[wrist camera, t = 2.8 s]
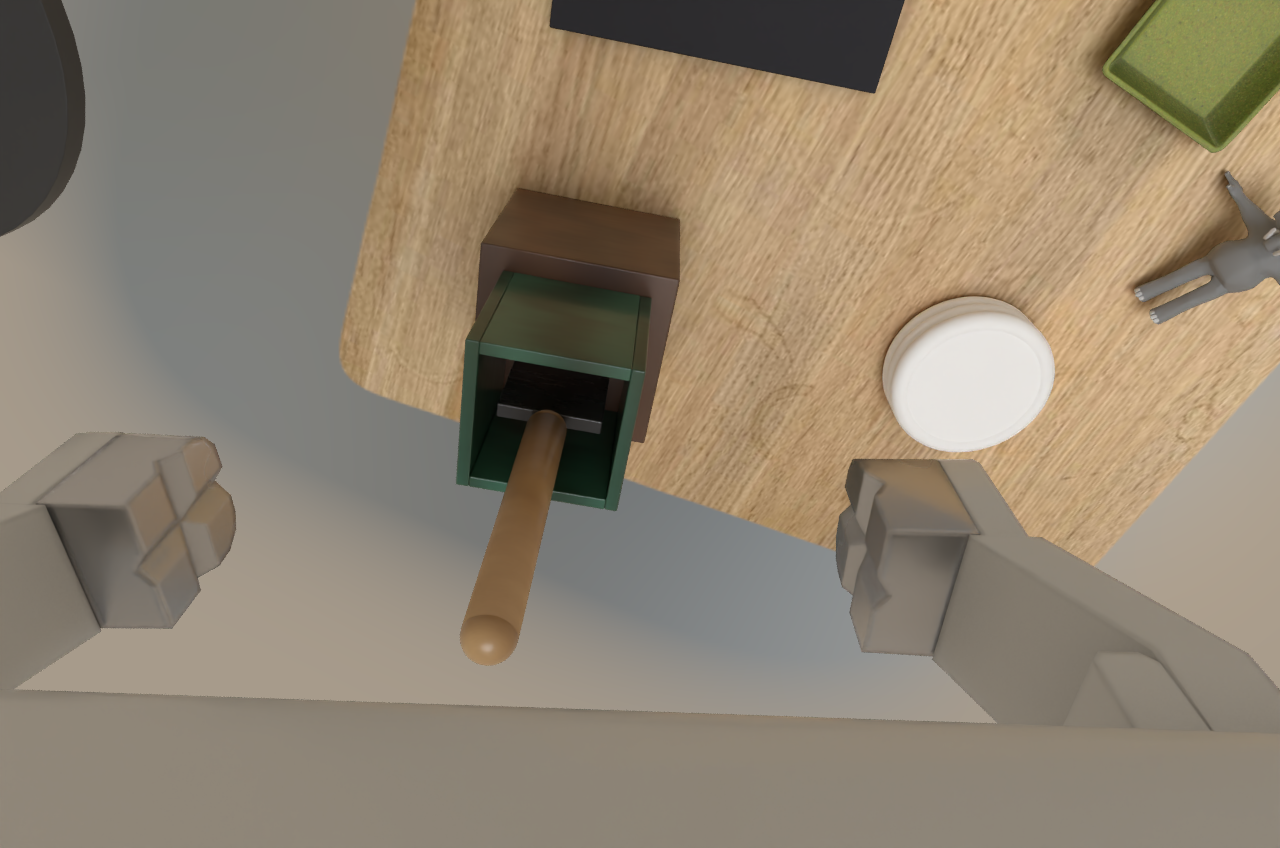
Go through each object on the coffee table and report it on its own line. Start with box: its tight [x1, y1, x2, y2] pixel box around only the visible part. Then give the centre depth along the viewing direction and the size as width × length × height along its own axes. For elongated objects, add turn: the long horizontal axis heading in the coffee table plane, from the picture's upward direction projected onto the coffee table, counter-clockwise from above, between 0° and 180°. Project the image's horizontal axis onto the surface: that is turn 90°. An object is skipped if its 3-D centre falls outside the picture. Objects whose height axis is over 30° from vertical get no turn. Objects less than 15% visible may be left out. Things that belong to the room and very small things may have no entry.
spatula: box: [460, 361, 610, 666], centre depth 32 cm, size 5×2×21 cm, turn 80°
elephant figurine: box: [1134, 171, 1280, 324], centre depth 45 cm, size 10×6×9 cm
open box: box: [456, 188, 680, 511], centre depth 42 cm, size 10×10×18 cm
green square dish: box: [1102, 0, 1280, 153], centre depth 40 cm, size 9×9×2 cm
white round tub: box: [882, 296, 1055, 452], centre depth 50 cm, size 10×10×4 cm
